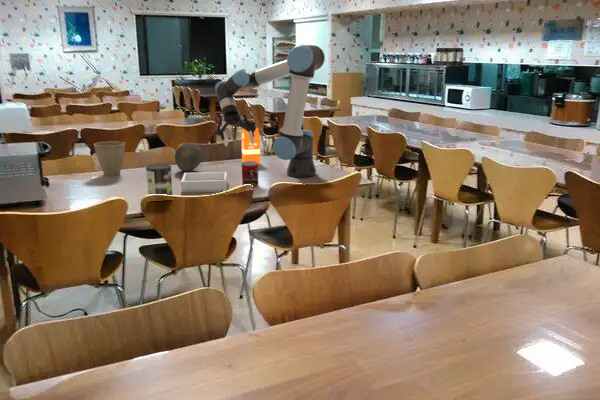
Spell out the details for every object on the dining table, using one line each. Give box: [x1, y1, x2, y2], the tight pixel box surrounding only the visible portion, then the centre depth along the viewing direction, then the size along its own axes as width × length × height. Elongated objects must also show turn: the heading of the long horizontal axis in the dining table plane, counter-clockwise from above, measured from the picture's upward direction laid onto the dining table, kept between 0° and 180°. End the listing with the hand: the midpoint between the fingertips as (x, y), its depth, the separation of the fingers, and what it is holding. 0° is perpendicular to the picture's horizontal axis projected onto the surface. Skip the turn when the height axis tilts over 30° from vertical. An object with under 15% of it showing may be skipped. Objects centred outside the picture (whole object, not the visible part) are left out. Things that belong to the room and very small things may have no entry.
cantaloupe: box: [174, 142, 202, 173], centre depth 278 cm, size 14×14×15 cm
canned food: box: [241, 161, 259, 188], centre depth 251 cm, size 8×8×11 cm
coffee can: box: [145, 163, 173, 195], centre depth 228 cm, size 10×10×14 cm
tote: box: [180, 171, 228, 193], centre depth 248 cm, size 20×18×5 cm
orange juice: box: [241, 127, 261, 165], centre depth 299 cm, size 8×9×20 cm
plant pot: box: [93, 140, 126, 177], centre depth 271 cm, size 15×15×16 cm
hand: (240, 143), depth 257 cm, fingers open, 13 cm apart
